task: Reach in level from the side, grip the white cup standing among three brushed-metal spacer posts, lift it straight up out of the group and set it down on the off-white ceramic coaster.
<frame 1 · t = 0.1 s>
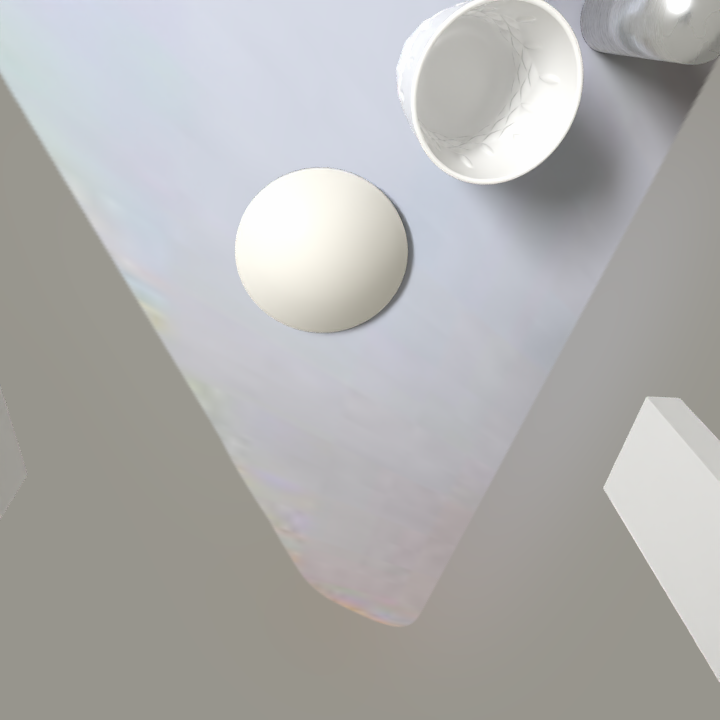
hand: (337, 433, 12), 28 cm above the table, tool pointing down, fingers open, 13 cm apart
coaster: (322, 254, 39), on the table
white cup: (449, 75, 33), on the table
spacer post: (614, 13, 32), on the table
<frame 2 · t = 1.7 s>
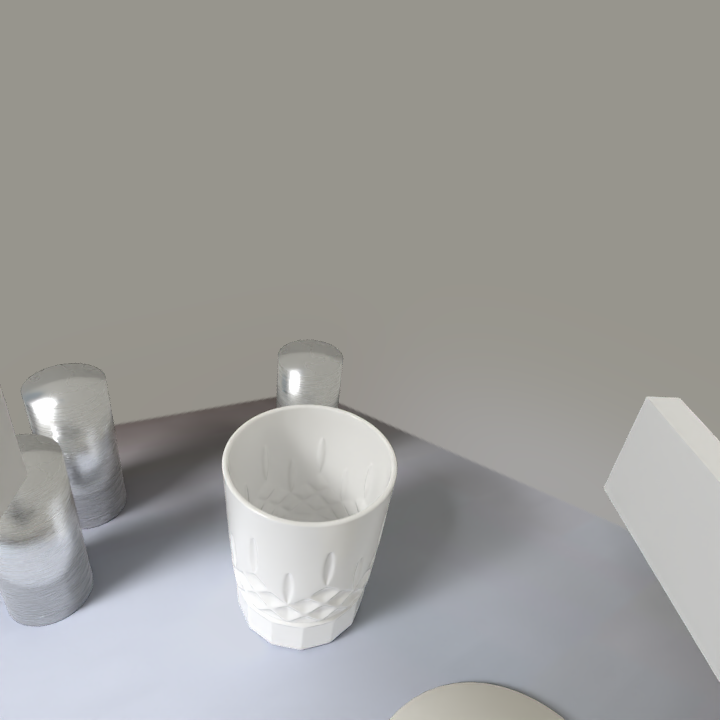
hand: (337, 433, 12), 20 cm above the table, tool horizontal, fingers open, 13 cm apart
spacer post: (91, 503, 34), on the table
white cup: (300, 593, 30), on the table
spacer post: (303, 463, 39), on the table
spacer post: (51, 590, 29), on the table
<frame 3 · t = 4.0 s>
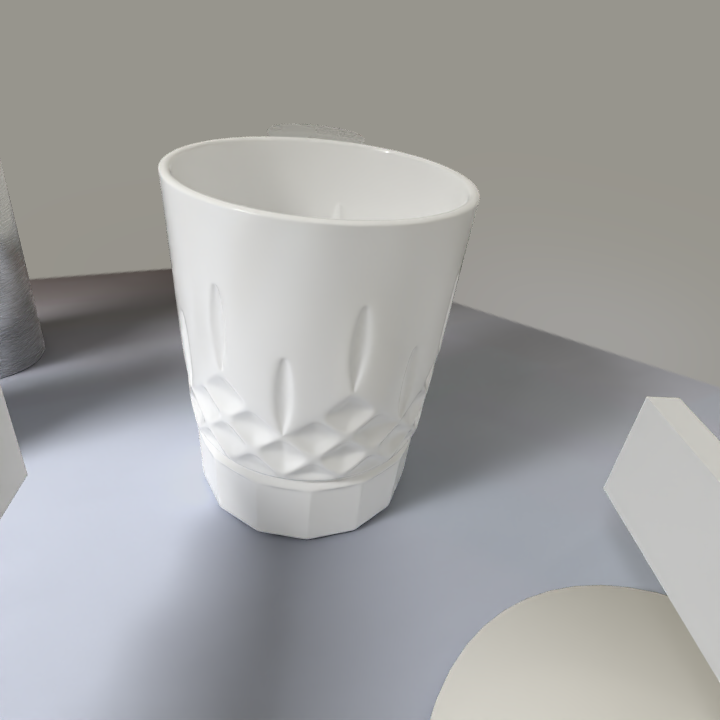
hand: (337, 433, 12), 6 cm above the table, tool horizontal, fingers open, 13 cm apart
white cup: (304, 467, 19), on the table
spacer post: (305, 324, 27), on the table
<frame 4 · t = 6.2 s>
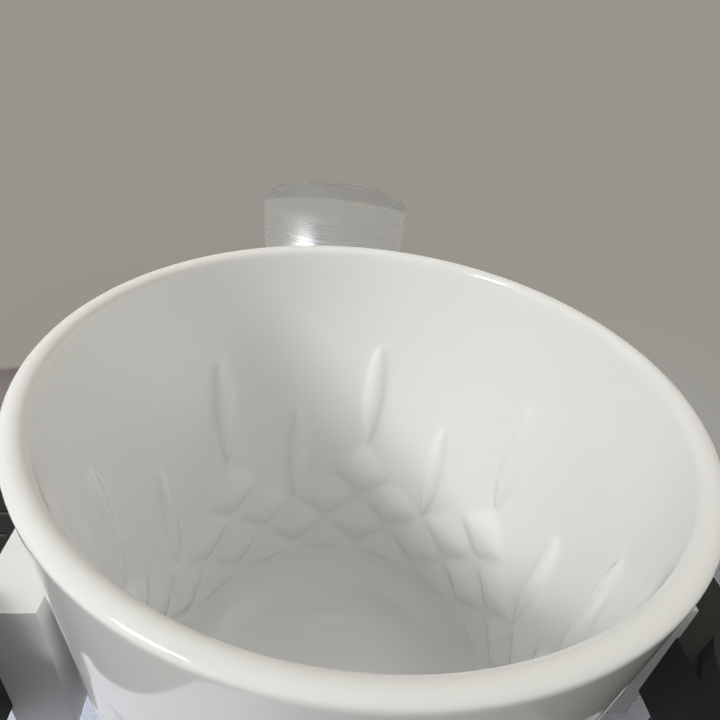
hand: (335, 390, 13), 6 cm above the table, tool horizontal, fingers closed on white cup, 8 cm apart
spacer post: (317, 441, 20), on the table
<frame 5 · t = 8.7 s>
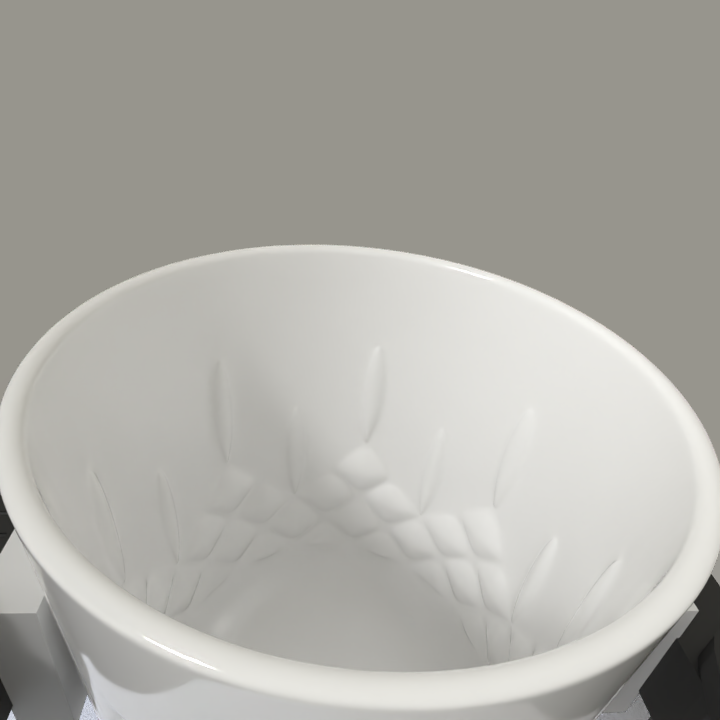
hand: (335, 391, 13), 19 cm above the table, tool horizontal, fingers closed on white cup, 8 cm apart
when the fingers open (8 cm above the table, at t = 11.3 s): white cup drops 1 cm, resting on coaster.
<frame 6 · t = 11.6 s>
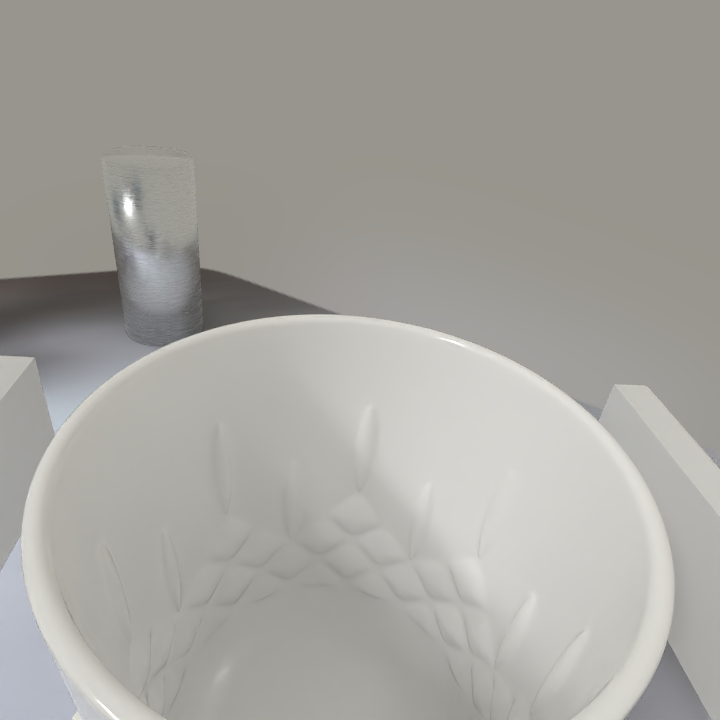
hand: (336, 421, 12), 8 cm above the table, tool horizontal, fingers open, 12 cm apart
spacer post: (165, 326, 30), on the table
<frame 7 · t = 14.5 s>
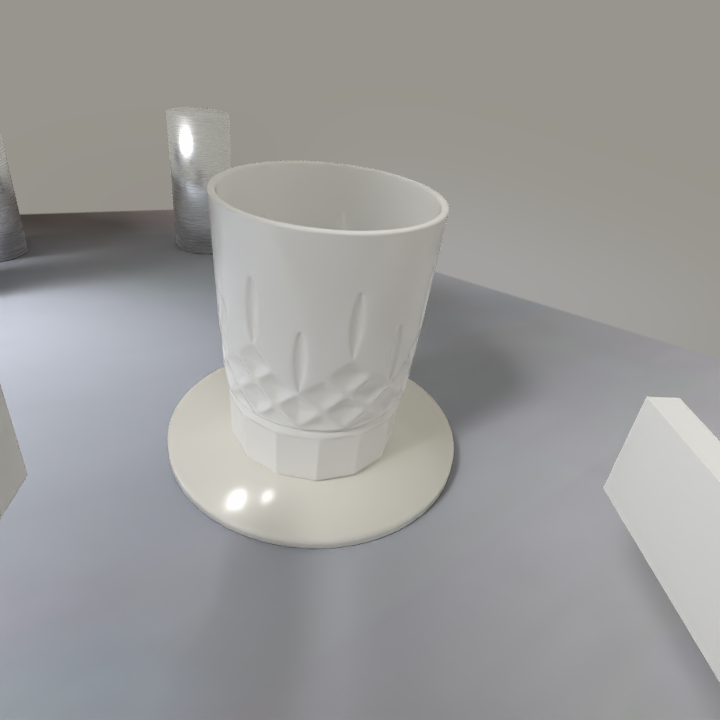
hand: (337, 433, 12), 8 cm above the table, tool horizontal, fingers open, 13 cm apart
coaster: (314, 434, 24), on the table
white cup: (313, 429, 24), resting on coaster
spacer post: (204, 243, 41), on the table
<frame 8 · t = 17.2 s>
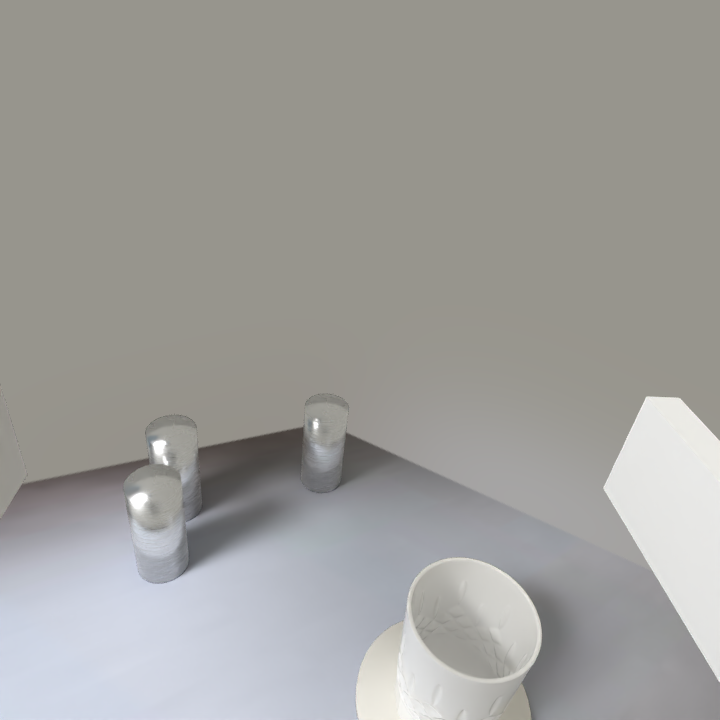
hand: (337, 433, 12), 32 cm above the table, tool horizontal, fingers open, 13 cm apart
coaster: (441, 702, 38), on the table
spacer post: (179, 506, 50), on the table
white cup: (442, 701, 38), resting on coaster
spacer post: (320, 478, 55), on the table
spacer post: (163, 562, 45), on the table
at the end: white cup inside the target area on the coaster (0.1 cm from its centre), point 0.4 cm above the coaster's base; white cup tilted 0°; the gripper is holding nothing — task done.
